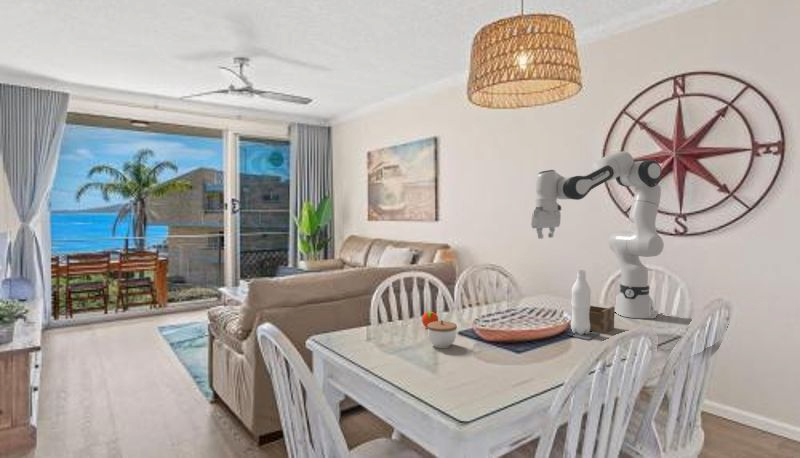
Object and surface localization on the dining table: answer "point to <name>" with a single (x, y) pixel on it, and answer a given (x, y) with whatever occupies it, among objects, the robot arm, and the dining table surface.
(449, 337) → the lidded jar
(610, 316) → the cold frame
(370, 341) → the dining table surface
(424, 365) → the dining table surface
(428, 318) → the tomato
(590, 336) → the mat
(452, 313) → the dining table surface
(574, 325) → the water bottle
